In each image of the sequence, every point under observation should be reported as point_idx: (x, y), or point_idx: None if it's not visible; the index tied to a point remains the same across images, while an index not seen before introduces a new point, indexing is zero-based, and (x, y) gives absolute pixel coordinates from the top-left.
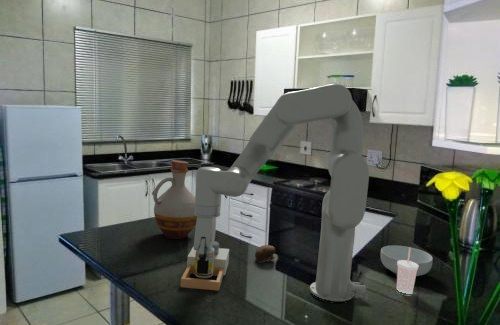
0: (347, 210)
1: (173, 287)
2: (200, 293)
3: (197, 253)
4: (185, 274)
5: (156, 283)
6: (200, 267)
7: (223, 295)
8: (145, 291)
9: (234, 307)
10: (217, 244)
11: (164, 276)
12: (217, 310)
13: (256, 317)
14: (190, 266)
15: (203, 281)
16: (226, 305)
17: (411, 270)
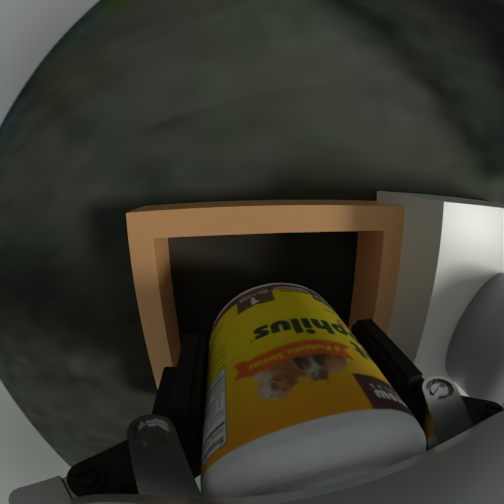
0: None
1: (130, 166)
2: (112, 328)
3: (228, 444)
4: (210, 225)
5: (164, 55)
6: (160, 390)
7: (140, 410)
8: (68, 55)
9: (81, 431)
10: (500, 400)
11: (278, 68)
12: (37, 388)
13: (71, 459)
14: (372, 227)
15: (151, 359)
16: (77, 414)
17: None
